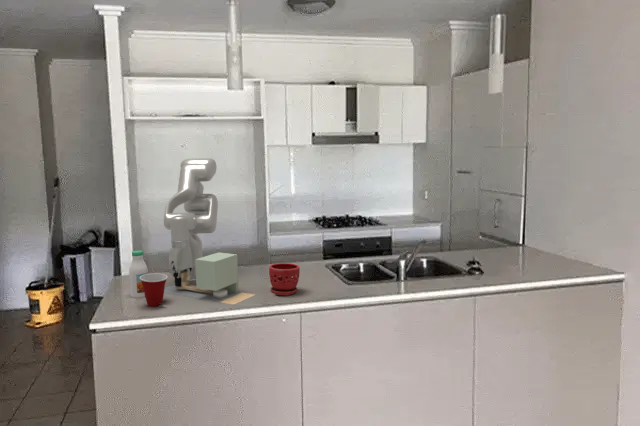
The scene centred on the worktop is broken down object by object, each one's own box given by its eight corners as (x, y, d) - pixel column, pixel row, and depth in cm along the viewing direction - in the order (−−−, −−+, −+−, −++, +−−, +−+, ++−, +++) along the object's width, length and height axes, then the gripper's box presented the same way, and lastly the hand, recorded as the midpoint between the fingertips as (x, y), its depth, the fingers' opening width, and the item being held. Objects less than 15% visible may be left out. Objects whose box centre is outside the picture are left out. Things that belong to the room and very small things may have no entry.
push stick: (182, 285, 240) (181, 270, 239) (217, 291, 230) (216, 275, 229) (175, 288, 236) (174, 272, 235) (210, 293, 226) (209, 277, 225)
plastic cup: (155, 310, 212) (154, 280, 210) (135, 306, 216) (133, 277, 215) (174, 302, 221) (173, 274, 220) (154, 299, 226) (153, 271, 224)
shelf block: (220, 291, 237) (218, 252, 234) (238, 294, 232) (237, 254, 229) (197, 300, 224) (195, 259, 221) (216, 303, 219) (214, 261, 216)
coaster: (219, 292, 231) (219, 288, 231) (230, 294, 228) (230, 289, 228) (210, 296, 226) (209, 291, 226) (221, 298, 223) (221, 293, 223)
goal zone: (242, 294, 231) (242, 292, 231) (255, 297, 227) (255, 294, 227) (219, 304, 218) (219, 302, 218) (233, 306, 214) (233, 304, 214)
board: (179, 284, 248) (179, 282, 248) (242, 294, 231) (242, 292, 231) (155, 293, 235) (155, 291, 235) (219, 304, 218) (219, 302, 218)
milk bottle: (130, 300, 225) (127, 253, 222) (131, 295, 233) (128, 250, 230) (149, 298, 227) (146, 252, 225) (149, 293, 235) (147, 248, 232)
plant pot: (288, 298, 224) (288, 270, 223) (263, 294, 231) (262, 267, 230) (305, 291, 236) (305, 264, 234) (281, 287, 242) (280, 261, 241)
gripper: (187, 240, 243) (189, 279, 246) (159, 246, 229) (161, 288, 231) (200, 241, 240) (202, 281, 242) (172, 248, 225) (174, 290, 228)
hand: (182, 284), depth 237 cm, fingers closed on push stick, 4 cm apart
